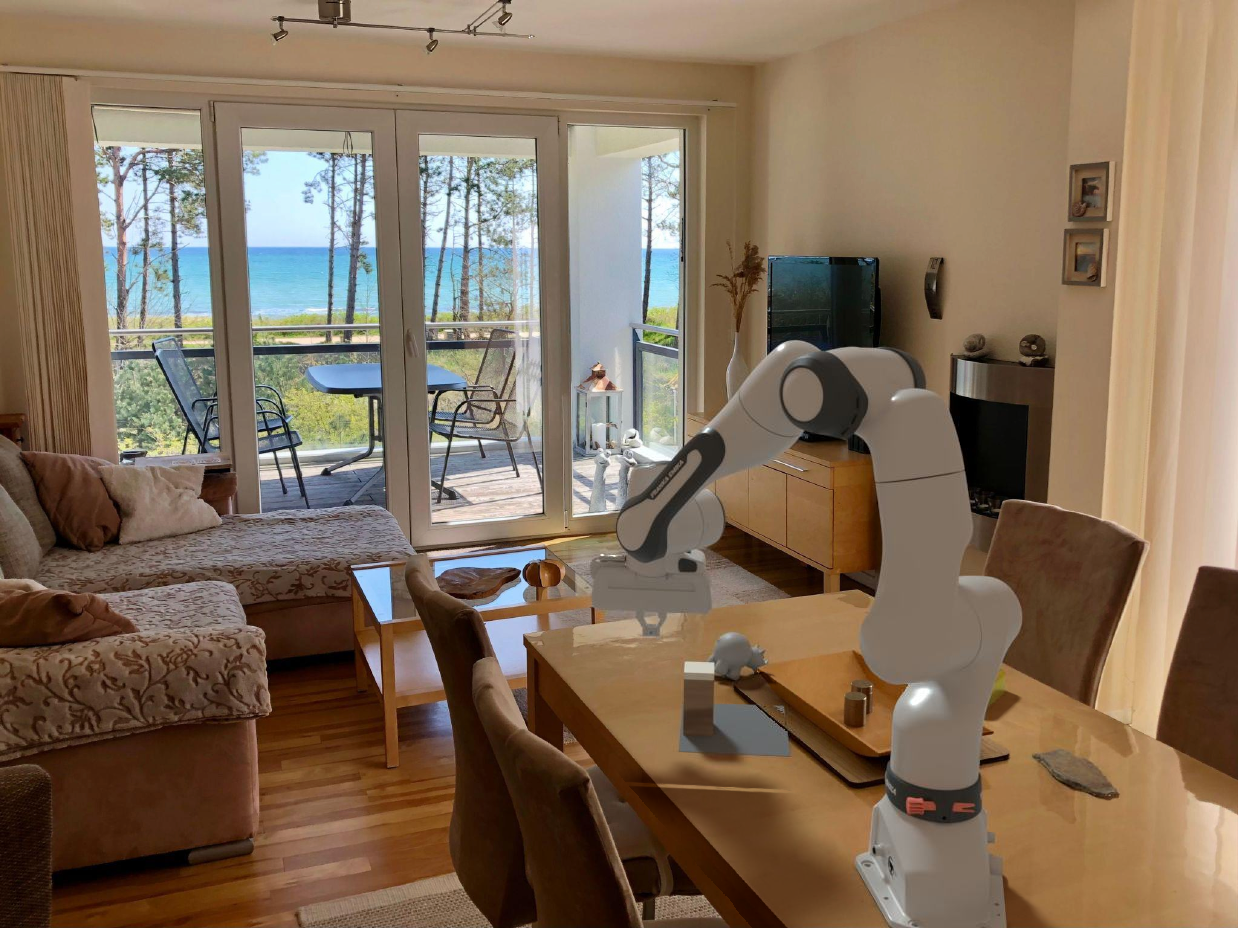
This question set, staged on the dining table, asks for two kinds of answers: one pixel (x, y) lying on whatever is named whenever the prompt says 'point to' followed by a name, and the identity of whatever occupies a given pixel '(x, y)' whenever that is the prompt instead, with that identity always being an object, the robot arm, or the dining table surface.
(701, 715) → the walnut block
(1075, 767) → the grey flat rock
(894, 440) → the robot arm
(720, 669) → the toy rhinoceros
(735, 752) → the rubber mat
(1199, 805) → the dining table surface
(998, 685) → the element tile
